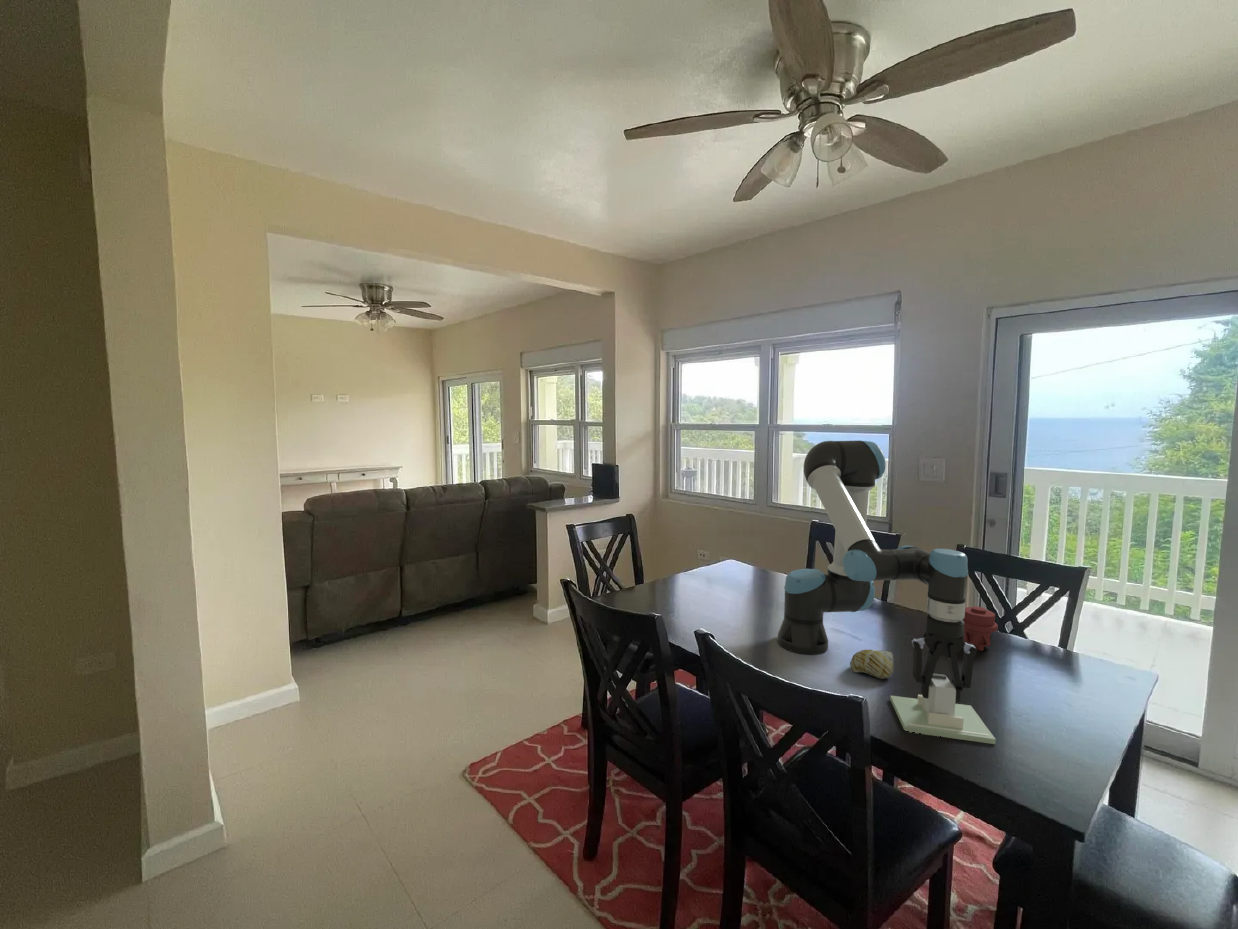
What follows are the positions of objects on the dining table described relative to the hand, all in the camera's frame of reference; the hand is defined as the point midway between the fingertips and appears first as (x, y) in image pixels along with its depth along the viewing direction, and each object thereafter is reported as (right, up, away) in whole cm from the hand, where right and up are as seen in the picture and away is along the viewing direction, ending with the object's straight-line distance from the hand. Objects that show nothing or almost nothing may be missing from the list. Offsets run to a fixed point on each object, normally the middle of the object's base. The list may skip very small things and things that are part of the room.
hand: (939, 712), depth 124 cm
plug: (0, 0, 0) cm, 0 cm away
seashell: (-5, 0, +23) cm, 23 cm away
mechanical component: (+37, +1, +41) cm, 55 cm away
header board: (0, -2, 0) cm, 2 cm away
